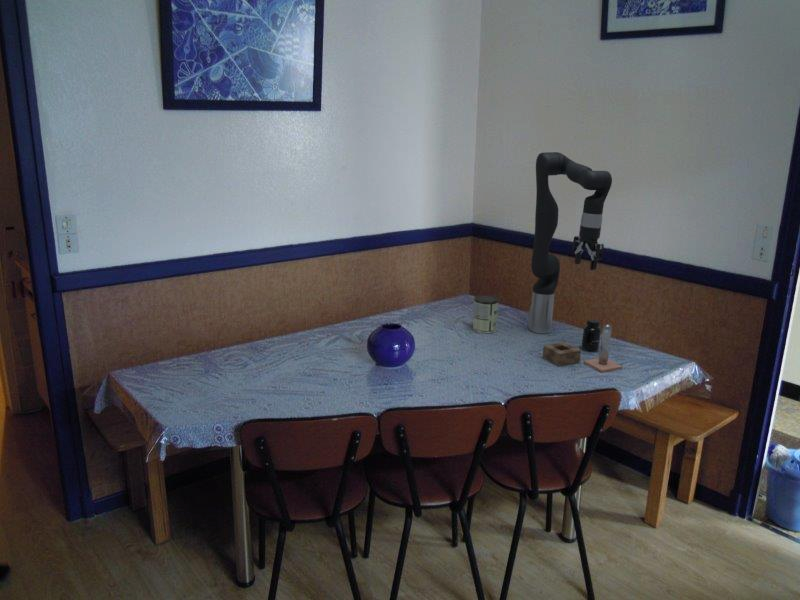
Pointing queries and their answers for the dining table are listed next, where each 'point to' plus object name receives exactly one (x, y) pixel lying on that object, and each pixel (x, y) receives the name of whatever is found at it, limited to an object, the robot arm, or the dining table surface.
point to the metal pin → (605, 344)
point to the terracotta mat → (603, 368)
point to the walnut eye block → (561, 354)
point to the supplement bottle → (591, 335)
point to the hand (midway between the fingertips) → (585, 266)
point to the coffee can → (485, 313)
